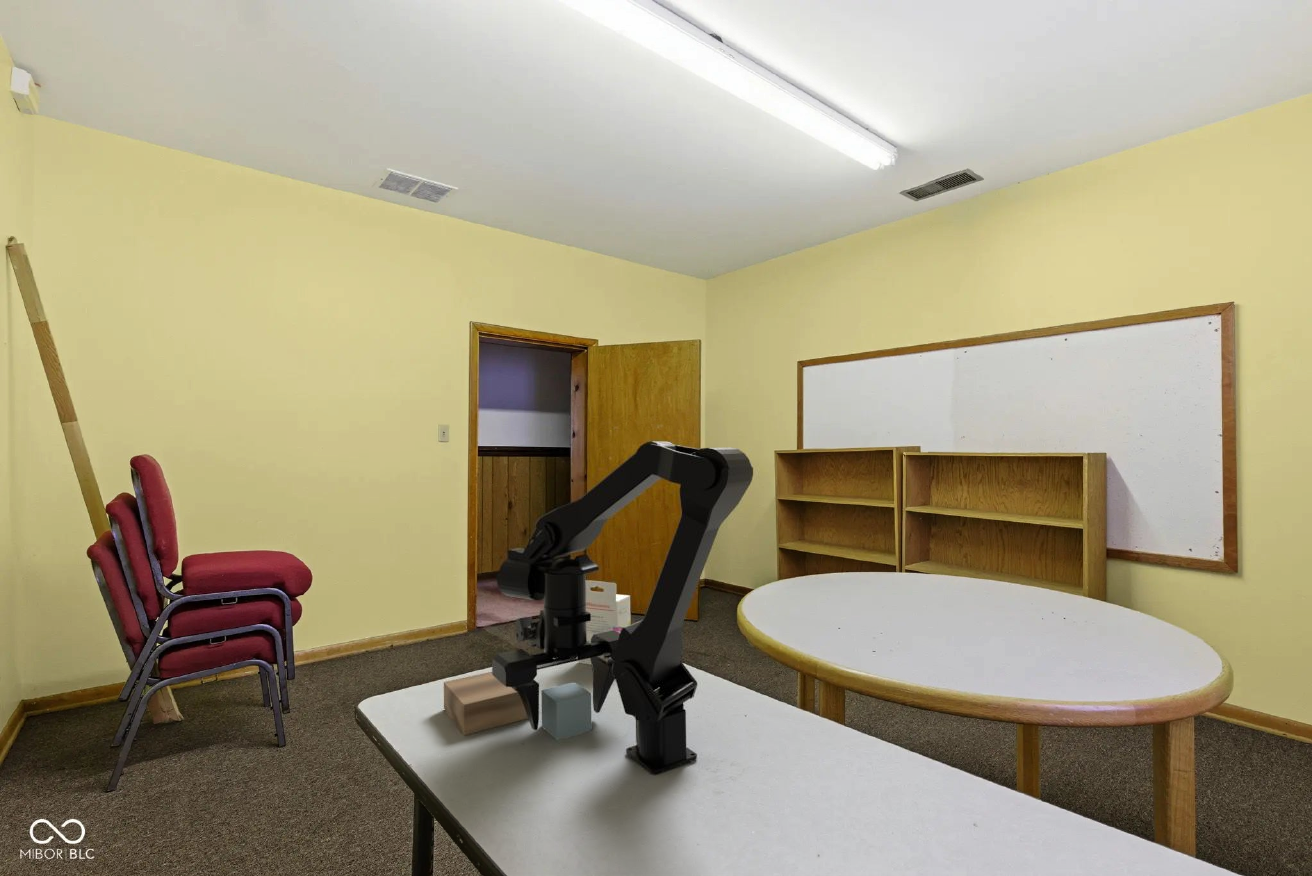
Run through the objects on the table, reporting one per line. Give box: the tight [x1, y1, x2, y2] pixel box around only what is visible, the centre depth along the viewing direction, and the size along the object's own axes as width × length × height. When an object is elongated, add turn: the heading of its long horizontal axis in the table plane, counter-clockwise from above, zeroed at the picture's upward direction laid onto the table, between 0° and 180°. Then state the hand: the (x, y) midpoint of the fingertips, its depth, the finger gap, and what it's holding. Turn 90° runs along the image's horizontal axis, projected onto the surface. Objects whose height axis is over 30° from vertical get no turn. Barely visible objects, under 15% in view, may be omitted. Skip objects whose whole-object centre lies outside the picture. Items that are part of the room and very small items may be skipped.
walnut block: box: [443, 671, 528, 736], centre depth 90 cm, size 10×10×4 cm
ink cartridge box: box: [578, 579, 632, 666], centre depth 111 cm, size 9×5×15 cm, turn 62°
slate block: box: [540, 681, 593, 741], centre depth 84 cm, size 5×5×5 cm
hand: (566, 720), depth 84 cm, fingers open, 9 cm apart
